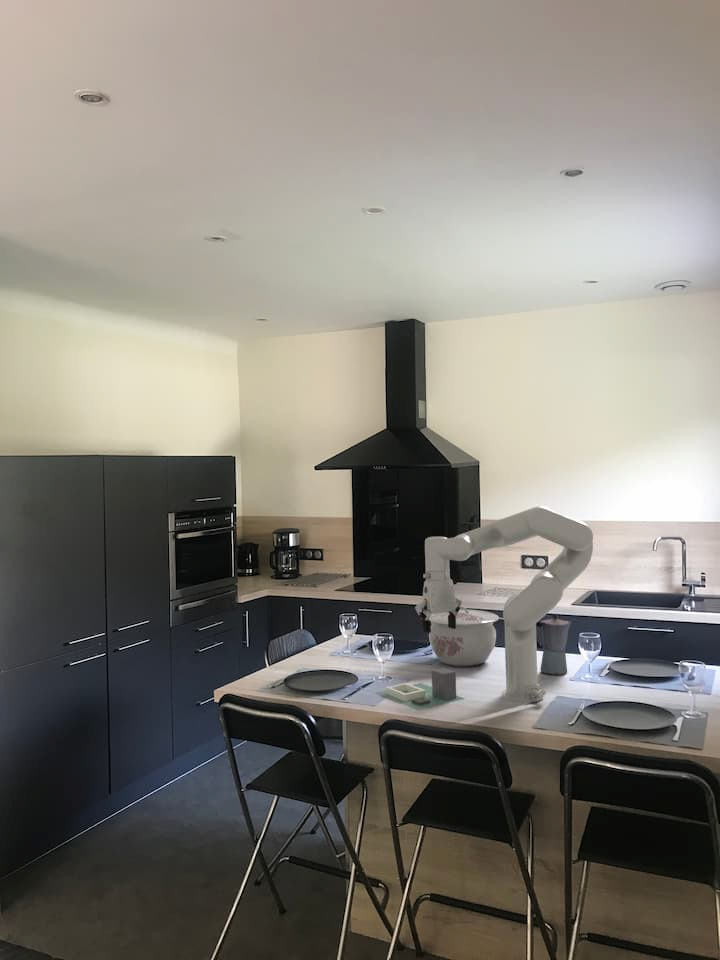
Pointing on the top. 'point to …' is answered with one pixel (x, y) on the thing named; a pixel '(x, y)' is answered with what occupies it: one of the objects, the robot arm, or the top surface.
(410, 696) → the board
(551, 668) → the moka pot
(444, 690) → the plug
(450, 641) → the chamber pot
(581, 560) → the robot arm
